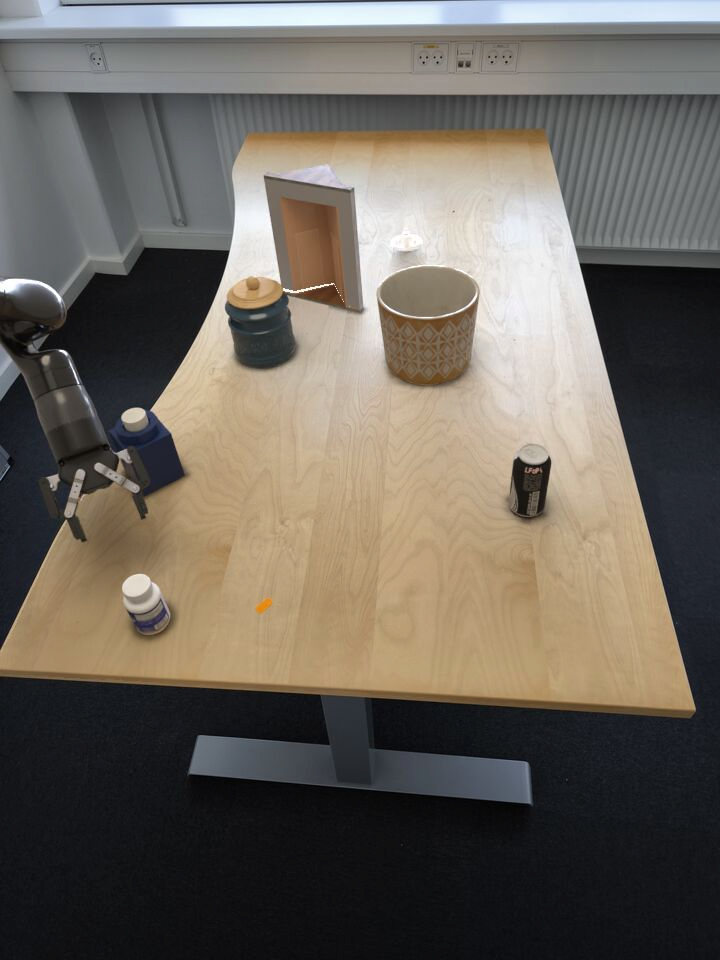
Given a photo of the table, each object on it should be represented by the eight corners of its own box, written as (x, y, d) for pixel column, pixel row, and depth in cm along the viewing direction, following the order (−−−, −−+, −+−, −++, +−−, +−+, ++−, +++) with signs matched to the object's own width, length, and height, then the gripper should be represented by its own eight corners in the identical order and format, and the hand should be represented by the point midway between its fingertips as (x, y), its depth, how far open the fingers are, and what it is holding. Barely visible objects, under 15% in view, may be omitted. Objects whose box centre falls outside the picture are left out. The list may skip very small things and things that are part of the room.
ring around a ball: (394, 259, 180) (425, 254, 181) (393, 237, 176) (425, 232, 177) (387, 245, 186) (418, 240, 187) (386, 223, 182) (417, 219, 183)
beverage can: (523, 489, 122) (530, 435, 114) (551, 506, 119) (560, 452, 110) (501, 507, 120) (506, 453, 111) (529, 525, 116) (536, 471, 108)
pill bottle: (133, 612, 110) (115, 575, 103) (168, 601, 110) (152, 565, 104) (137, 640, 106) (118, 604, 100) (173, 629, 107) (157, 593, 101)
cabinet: (282, 294, 172) (263, 175, 153) (304, 274, 178) (288, 157, 158) (360, 312, 164) (350, 189, 144) (380, 292, 170) (373, 170, 150)
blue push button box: (144, 496, 127) (123, 445, 119) (125, 472, 132) (104, 421, 123) (185, 475, 130) (168, 424, 122) (165, 452, 135) (147, 401, 126)
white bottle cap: (130, 435, 121) (127, 426, 119) (121, 423, 123) (117, 414, 122) (152, 425, 122) (149, 415, 121) (142, 413, 125) (139, 404, 123)
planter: (491, 378, 144) (496, 304, 132) (398, 401, 141) (395, 327, 129) (454, 327, 157) (456, 256, 146) (368, 347, 154) (363, 276, 143)
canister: (224, 364, 154) (206, 289, 141) (252, 330, 162) (237, 257, 150) (280, 374, 150) (267, 298, 137) (306, 339, 158) (295, 264, 146)
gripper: (15, 438, 98) (61, 550, 98) (119, 402, 102) (163, 510, 102) (24, 444, 105) (67, 549, 106) (122, 411, 109) (162, 512, 110)
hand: (114, 530), depth 104 cm, fingers open, 8 cm apart
